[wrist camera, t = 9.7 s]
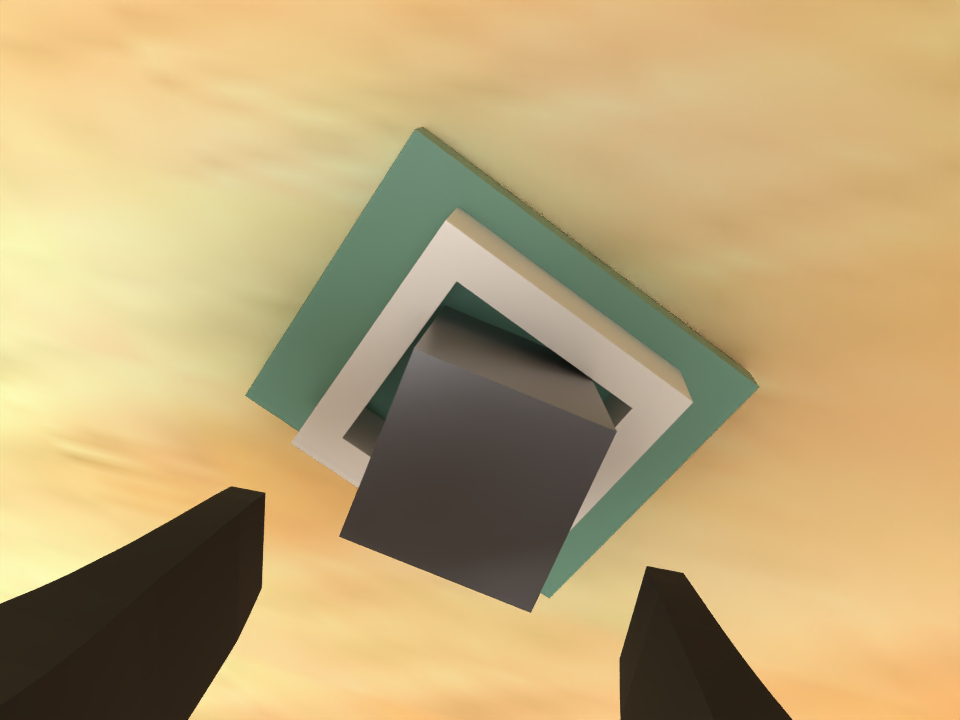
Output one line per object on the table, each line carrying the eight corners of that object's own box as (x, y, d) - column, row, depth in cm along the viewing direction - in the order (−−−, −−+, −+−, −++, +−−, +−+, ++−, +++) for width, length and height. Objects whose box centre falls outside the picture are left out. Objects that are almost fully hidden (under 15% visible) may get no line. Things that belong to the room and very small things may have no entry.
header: (680, 370, 18) (692, 402, 17) (517, 546, 21) (512, 590, 19) (458, 206, 18) (445, 220, 16) (315, 410, 20) (290, 443, 18)
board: (749, 373, 19) (759, 387, 18) (549, 577, 22) (549, 598, 22) (422, 127, 18) (415, 129, 17) (258, 382, 21) (244, 395, 20)
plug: (583, 362, 19) (617, 431, 13) (502, 540, 20) (499, 679, 14) (444, 305, 18) (414, 348, 13) (371, 488, 20) (311, 605, 14)
